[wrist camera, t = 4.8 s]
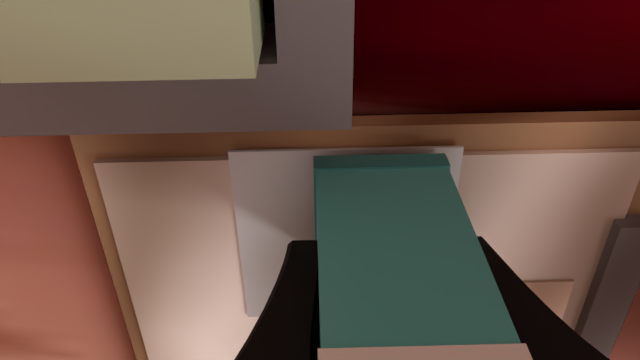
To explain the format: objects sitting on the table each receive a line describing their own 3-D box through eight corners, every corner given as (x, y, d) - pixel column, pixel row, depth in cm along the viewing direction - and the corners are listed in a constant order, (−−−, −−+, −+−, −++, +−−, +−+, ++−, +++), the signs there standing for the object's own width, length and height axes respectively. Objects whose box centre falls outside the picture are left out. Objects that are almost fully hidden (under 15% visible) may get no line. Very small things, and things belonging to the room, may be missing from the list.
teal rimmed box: (445, 153, 14) (549, 398, 8) (432, 254, 16) (508, 515, 10) (313, 155, 14) (318, 404, 8) (315, 257, 16) (321, 521, 10)
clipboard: (685, 109, 15) (713, 130, 14) (574, 391, 21) (587, 419, 20) (76, 121, 14) (59, 144, 13) (157, 401, 21) (149, 430, 20)
